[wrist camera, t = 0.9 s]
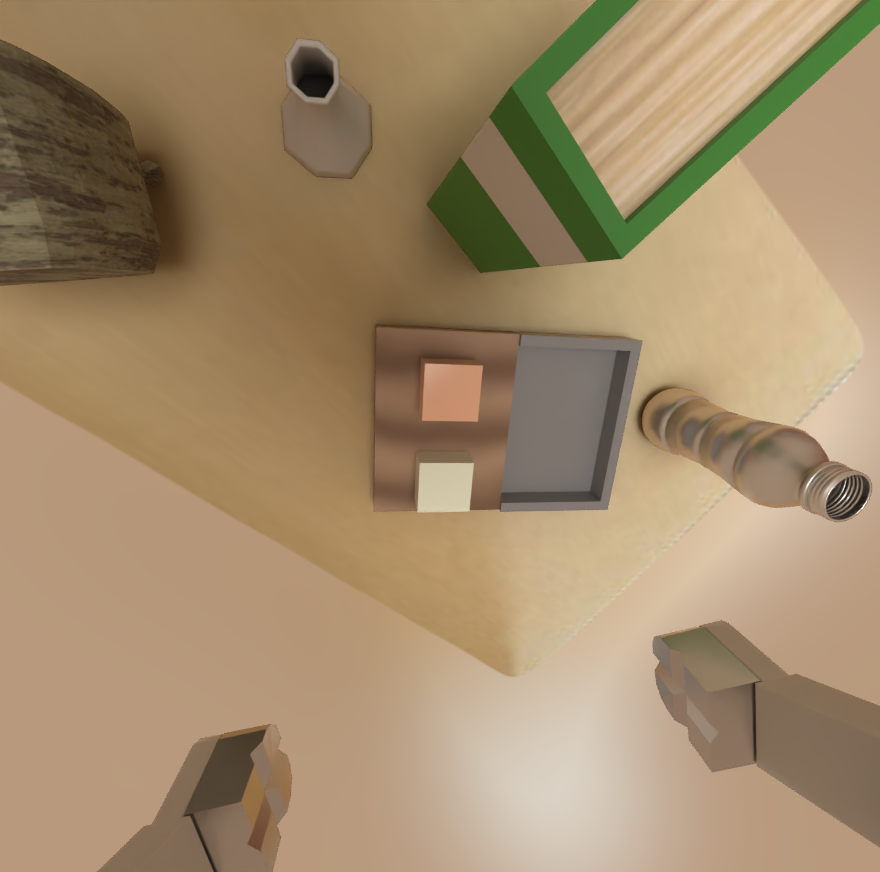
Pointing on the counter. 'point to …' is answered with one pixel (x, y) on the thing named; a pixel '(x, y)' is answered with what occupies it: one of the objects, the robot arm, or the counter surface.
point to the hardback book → (633, 122)
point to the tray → (567, 420)
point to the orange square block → (449, 389)
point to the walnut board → (408, 433)
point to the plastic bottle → (755, 456)
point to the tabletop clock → (68, 180)
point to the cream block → (443, 481)
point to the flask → (323, 113)
